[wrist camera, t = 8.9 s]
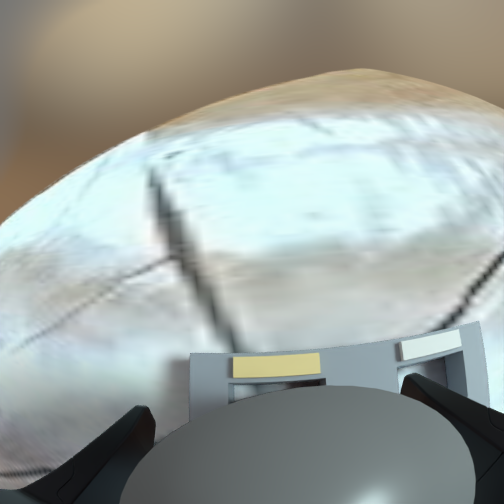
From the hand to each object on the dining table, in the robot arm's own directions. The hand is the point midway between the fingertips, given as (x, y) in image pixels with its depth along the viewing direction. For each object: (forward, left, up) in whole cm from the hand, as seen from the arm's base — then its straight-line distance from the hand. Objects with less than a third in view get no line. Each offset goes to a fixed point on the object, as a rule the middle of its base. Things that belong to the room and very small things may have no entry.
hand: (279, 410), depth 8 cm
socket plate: (+4, -3, -9) cm, 10 cm away
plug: (0, -1, -9) cm, 9 cm away
